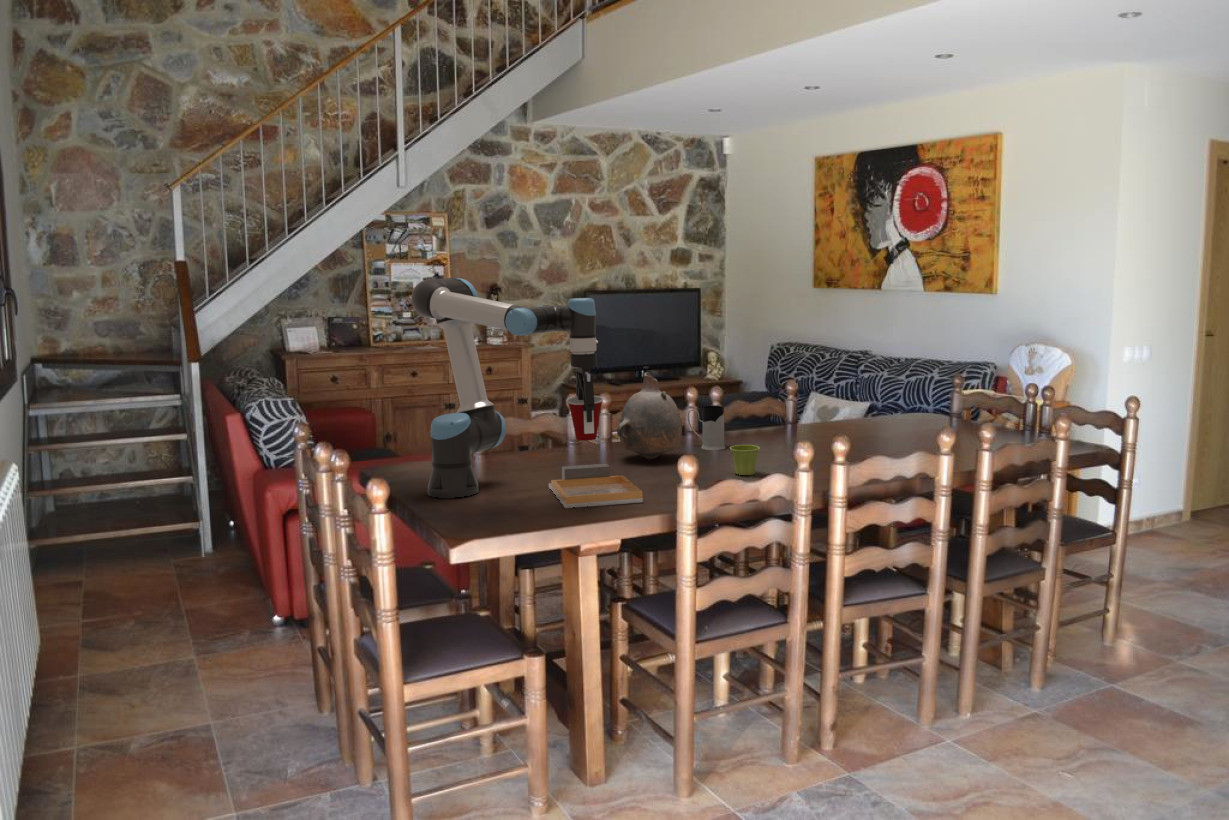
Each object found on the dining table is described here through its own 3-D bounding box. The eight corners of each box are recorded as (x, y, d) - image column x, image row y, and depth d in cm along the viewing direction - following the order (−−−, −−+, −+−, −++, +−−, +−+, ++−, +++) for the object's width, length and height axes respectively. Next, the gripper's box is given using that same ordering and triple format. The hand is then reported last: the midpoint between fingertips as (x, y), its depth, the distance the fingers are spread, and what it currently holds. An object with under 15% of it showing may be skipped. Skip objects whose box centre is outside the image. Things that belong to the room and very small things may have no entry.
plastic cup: (563, 442, 286) (561, 400, 284) (572, 435, 297) (571, 395, 295) (600, 442, 284) (599, 400, 282) (608, 436, 294) (607, 395, 293)
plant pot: (758, 477, 316) (758, 450, 315) (728, 477, 318) (728, 450, 316) (760, 471, 325) (760, 445, 324) (731, 470, 327) (731, 444, 326)
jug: (663, 468, 331) (662, 378, 327) (606, 463, 342) (605, 375, 337) (694, 455, 352) (693, 370, 348) (640, 450, 363) (638, 367, 358)
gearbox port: (565, 508, 282) (564, 486, 281) (548, 487, 308) (548, 467, 307) (642, 502, 287) (642, 481, 286) (619, 482, 313) (619, 462, 312)
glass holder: (720, 450, 360) (720, 409, 358) (683, 448, 366) (683, 407, 364) (728, 446, 368) (728, 405, 366) (692, 444, 374) (691, 404, 372)
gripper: (604, 355, 277) (606, 435, 280) (589, 349, 298) (591, 424, 301) (577, 356, 275) (579, 437, 279) (564, 350, 297) (567, 425, 300)
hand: (586, 430), depth 290 cm, fingers closed on plastic cup, 9 cm apart
